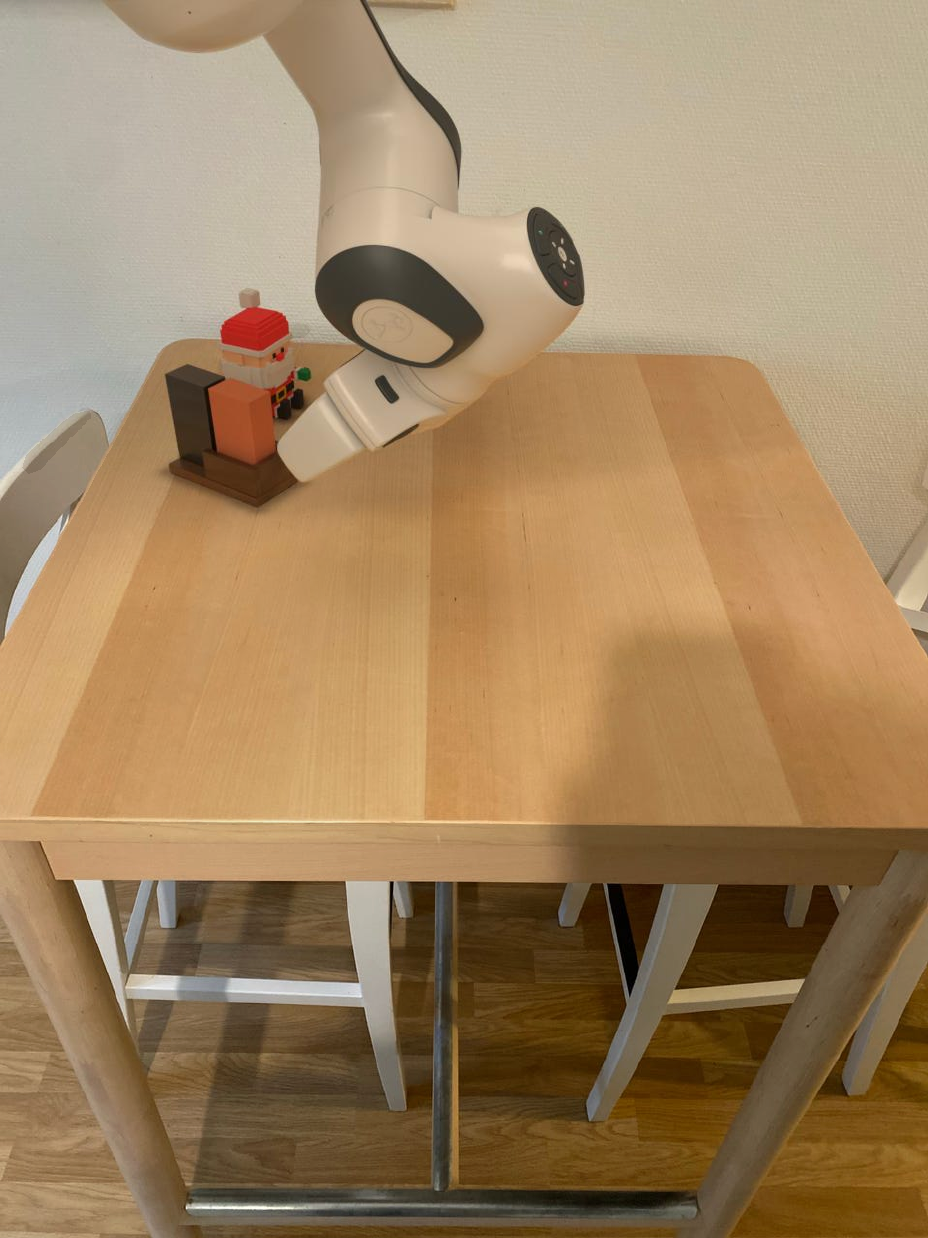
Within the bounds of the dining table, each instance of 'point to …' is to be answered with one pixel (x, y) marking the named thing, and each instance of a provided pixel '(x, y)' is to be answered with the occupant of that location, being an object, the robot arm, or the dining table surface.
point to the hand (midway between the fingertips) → (330, 446)
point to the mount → (201, 448)
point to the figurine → (262, 353)
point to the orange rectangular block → (242, 420)
